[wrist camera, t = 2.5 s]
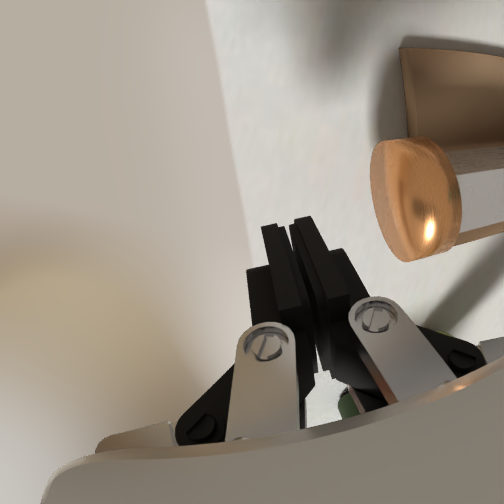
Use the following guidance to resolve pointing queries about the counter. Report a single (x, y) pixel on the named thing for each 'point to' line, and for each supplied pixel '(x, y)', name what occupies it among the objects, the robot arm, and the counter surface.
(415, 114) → the board
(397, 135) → the counter surface
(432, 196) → the shaft
